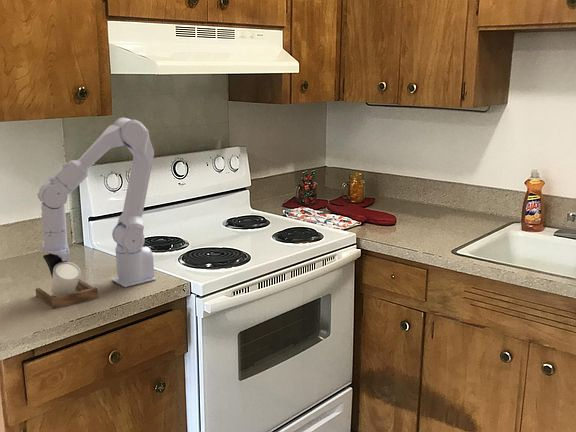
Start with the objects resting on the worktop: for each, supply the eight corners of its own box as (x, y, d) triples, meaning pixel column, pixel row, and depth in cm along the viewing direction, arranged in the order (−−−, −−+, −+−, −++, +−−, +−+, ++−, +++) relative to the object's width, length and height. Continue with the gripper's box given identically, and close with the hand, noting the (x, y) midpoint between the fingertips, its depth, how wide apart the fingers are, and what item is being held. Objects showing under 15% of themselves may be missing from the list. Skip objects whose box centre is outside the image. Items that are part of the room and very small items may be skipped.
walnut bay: (79, 285, 169) (78, 276, 168) (98, 297, 160) (97, 288, 159) (36, 296, 161) (35, 286, 161) (53, 308, 153) (52, 299, 152)
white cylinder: (58, 303, 158) (62, 284, 154) (43, 285, 160) (47, 266, 157) (81, 294, 163) (86, 275, 159) (67, 277, 166) (71, 258, 162)
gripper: (28, 226, 162) (32, 276, 165) (49, 238, 151) (52, 292, 154) (55, 223, 166) (58, 271, 169) (77, 234, 155) (80, 286, 159)
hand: (57, 281), depth 162 cm, fingers closed, pressing on white cylinder
